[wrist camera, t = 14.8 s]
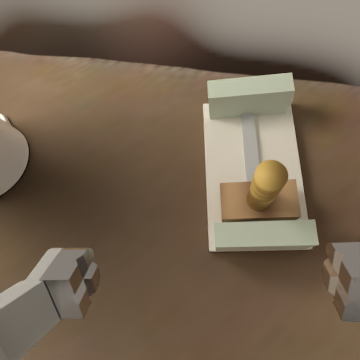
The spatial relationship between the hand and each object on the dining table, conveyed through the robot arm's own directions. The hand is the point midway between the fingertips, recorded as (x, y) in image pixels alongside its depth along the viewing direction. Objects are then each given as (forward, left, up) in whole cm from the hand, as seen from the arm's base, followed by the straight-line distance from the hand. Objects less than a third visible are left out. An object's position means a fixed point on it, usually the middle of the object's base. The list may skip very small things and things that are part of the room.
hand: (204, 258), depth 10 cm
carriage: (+6, +9, -30) cm, 32 cm away
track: (+6, +14, -33) cm, 37 cm away
